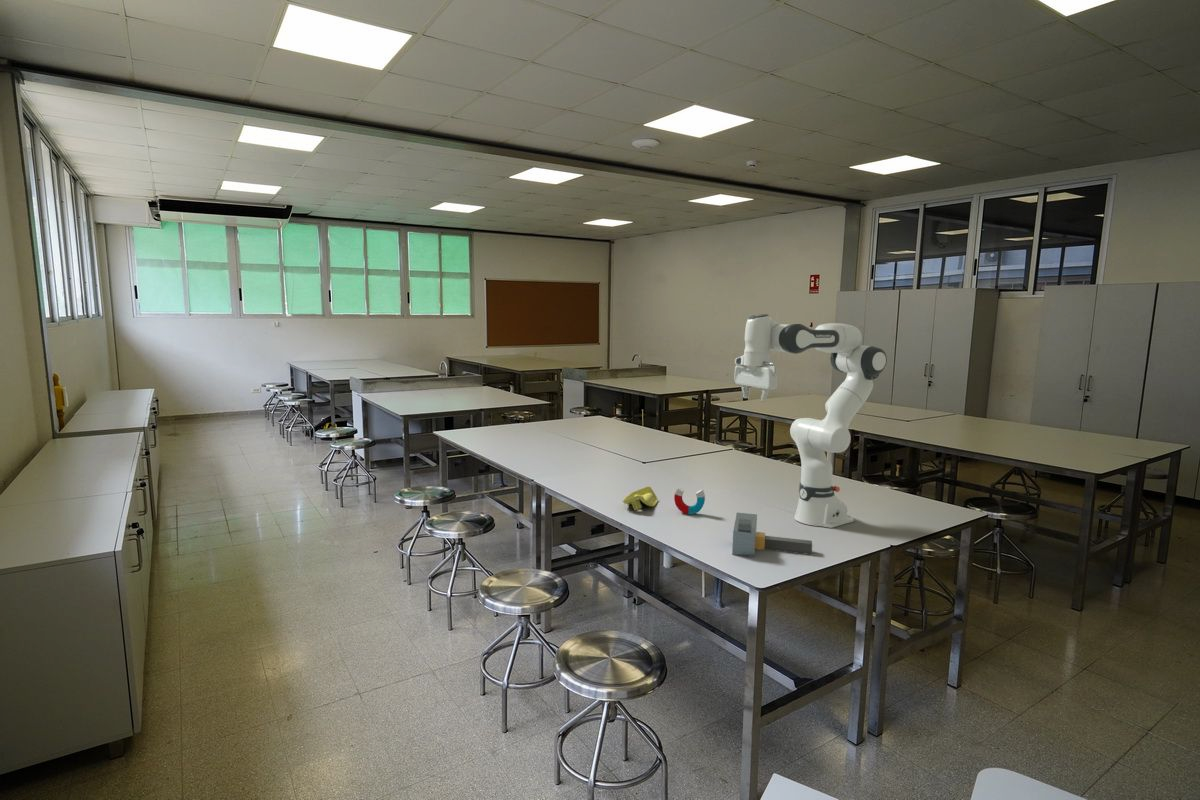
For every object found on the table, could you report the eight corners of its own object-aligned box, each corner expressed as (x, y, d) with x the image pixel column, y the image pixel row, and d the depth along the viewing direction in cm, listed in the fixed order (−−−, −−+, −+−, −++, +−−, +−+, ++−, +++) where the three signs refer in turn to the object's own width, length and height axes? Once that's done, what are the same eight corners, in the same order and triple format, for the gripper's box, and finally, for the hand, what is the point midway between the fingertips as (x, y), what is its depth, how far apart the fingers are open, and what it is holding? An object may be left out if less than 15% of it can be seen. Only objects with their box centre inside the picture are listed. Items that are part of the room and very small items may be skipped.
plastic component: (631, 492, 257) (652, 484, 254) (637, 508, 257) (659, 500, 254) (619, 502, 238) (642, 493, 235) (626, 519, 238) (649, 511, 235)
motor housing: (756, 536, 213) (757, 507, 212) (754, 557, 194) (755, 526, 193) (735, 534, 215) (737, 505, 214) (732, 554, 196) (733, 523, 195)
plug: (810, 550, 201) (811, 537, 201) (811, 555, 197) (812, 542, 196) (745, 543, 207) (746, 530, 206) (745, 547, 203) (745, 535, 202)
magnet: (704, 514, 237) (705, 489, 236) (703, 516, 235) (704, 491, 233) (674, 510, 241) (675, 486, 239) (673, 512, 238) (674, 488, 237)
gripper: (783, 362, 203) (781, 403, 205) (746, 358, 222) (744, 396, 224) (768, 363, 201) (766, 404, 203) (732, 359, 220) (730, 396, 221)
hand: (754, 399), depth 213 cm, fingers open, 8 cm apart
